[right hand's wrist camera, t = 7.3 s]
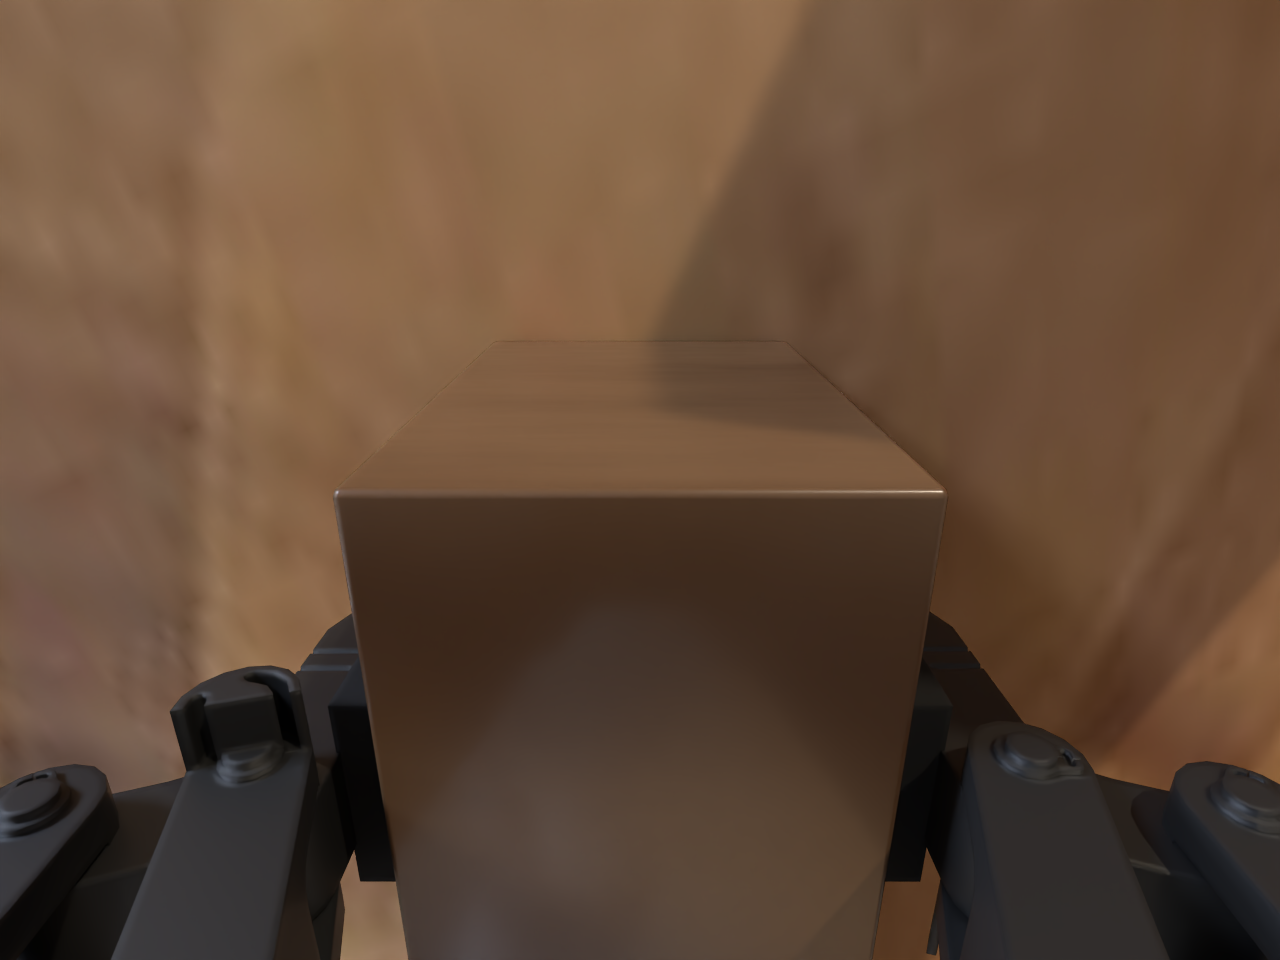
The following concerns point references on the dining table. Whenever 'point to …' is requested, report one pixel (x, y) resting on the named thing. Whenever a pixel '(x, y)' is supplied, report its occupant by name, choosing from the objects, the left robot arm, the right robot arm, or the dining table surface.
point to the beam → (640, 653)
